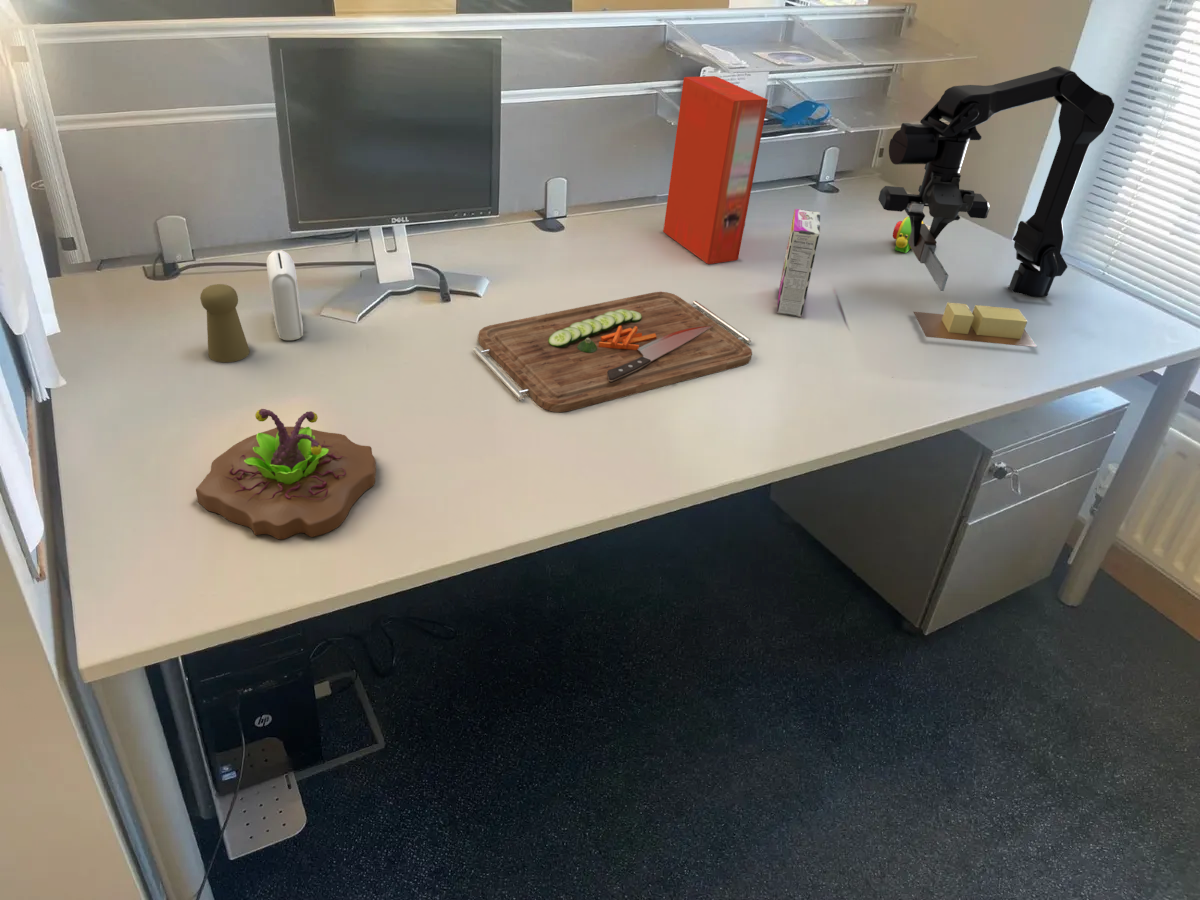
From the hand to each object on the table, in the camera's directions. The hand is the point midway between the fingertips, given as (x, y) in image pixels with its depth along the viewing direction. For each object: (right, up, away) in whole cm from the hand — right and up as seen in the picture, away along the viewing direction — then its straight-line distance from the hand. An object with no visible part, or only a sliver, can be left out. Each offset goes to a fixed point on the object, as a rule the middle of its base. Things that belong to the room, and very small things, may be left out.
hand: (920, 246), depth 169 cm
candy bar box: (-25, -11, +1) cm, 27 cm away
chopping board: (-58, -21, -19) cm, 64 cm away
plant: (-100, -43, -55) cm, 122 cm away
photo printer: (-112, -18, -21) cm, 115 cm away
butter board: (+8, -17, -4) cm, 19 cm away
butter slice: (+5, -16, -5) cm, 17 cm away
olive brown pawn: (-118, -23, -29) cm, 124 cm away
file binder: (-39, +5, +21) cm, 45 cm away
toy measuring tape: (+9, +8, +32) cm, 34 cm away
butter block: (+12, -16, -5) cm, 21 cm away
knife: (0, -5, -4) cm, 6 cm away
